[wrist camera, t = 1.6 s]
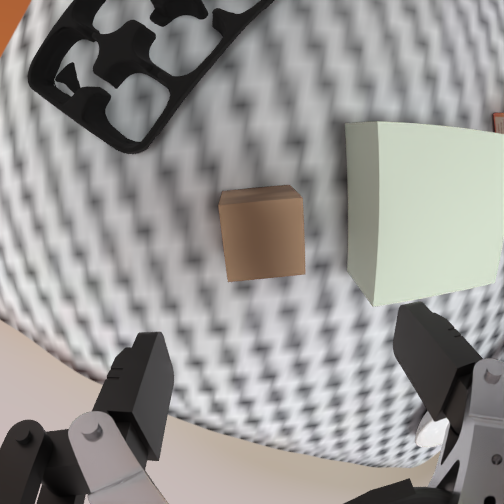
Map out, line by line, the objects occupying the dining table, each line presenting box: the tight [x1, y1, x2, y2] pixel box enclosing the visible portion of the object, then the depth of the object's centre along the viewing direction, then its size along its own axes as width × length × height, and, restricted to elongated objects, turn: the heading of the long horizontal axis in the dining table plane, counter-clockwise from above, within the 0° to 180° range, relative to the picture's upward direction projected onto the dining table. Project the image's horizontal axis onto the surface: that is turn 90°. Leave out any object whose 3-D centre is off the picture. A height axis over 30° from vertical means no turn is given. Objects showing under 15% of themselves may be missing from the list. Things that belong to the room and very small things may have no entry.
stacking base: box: [345, 121, 504, 307], centre depth 21 cm, size 12×12×6 cm
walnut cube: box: [218, 185, 305, 282], centre depth 22 cm, size 5×5×5 cm
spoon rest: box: [415, 411, 449, 448], centre depth 30 cm, size 24×12×7 cm, turn 148°
